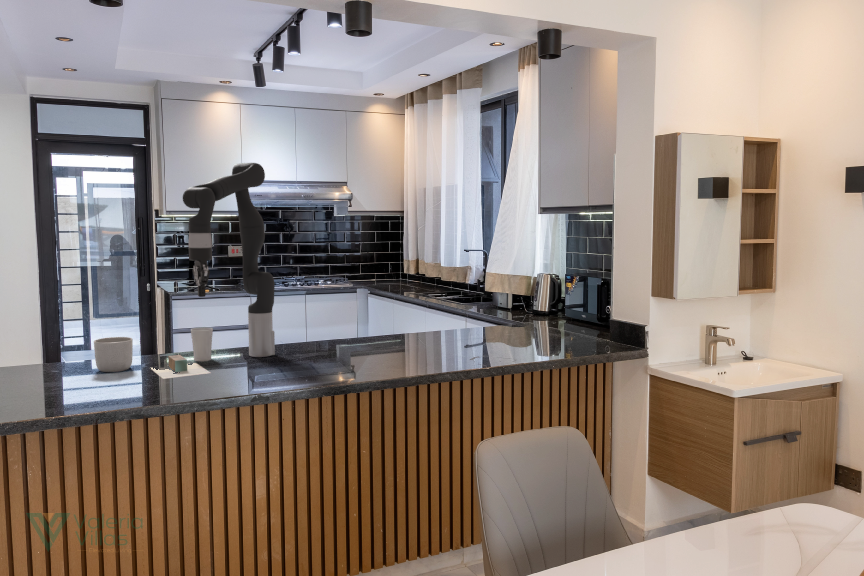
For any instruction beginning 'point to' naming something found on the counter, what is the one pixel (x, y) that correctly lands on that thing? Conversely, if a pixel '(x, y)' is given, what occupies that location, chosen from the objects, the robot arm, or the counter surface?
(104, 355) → the planter
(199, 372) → the cream flat rectangular panel
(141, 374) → the counter surface
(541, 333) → the counter surface
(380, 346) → the counter surface
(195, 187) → the robot arm
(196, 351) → the cup
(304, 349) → the counter surface
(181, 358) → the walnut block
